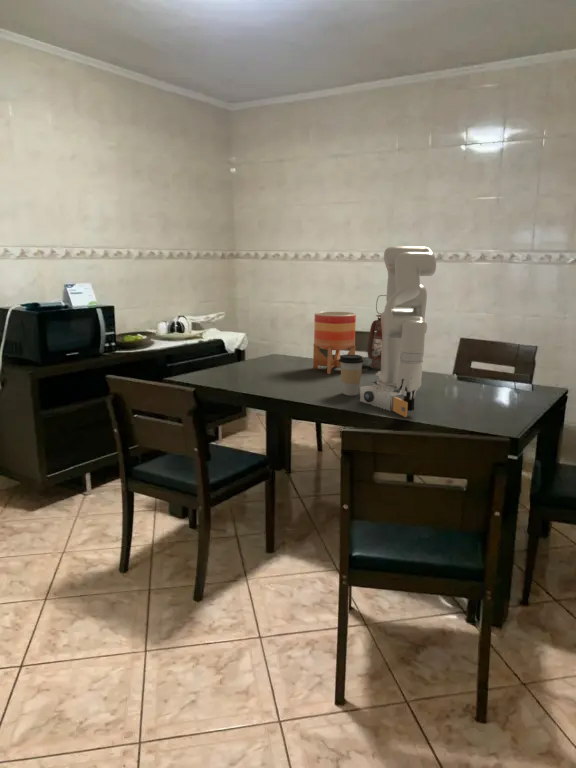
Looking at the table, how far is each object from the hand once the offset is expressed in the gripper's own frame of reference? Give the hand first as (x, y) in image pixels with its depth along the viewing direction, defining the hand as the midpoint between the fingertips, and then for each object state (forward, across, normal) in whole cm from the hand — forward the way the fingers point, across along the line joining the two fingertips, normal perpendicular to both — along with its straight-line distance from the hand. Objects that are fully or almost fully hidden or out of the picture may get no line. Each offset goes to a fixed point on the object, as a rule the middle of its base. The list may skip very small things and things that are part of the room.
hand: (408, 409), depth 191 cm
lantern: (+4, -70, -47) cm, 85 cm away
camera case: (+2, -8, -13) cm, 15 cm away
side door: (+1, +2, -3) cm, 4 cm away
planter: (+4, -50, -62) cm, 79 cm away
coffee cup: (+3, -14, -31) cm, 34 cm away
